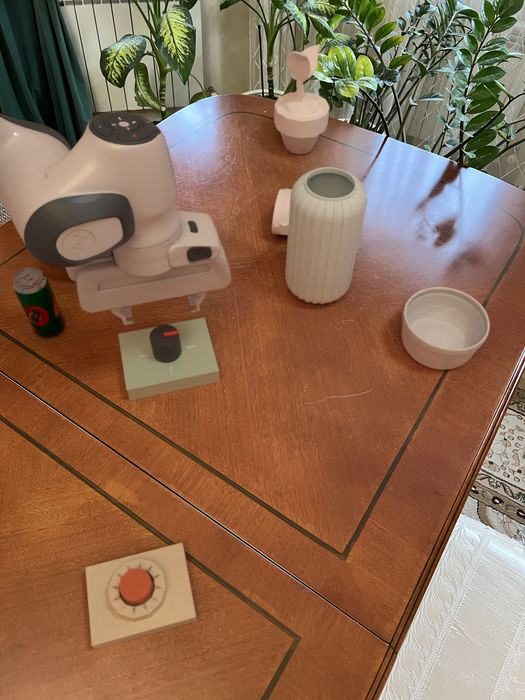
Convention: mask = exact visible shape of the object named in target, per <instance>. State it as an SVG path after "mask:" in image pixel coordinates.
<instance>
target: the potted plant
mask: <svg viewBox="0 0 525 700" xmlns="http://www.w3.org/2000/svg"><path fill="white" fill-rule="evenodd" d="M321 50H322V41H320V42H319V43H318V44H315V45H312V46H308V47H307V48H305V49H304V50H302V51H301V52H300V51H297V50H294V51H292V52H290V53H288V54H287V57H286V62H285V63H286V65H287V67H288V70H289V74H290V76H291V78H292V79H293V80H295V81H296V82H295V83H296V91H293V92H287V93H286V94H284V95H281V96H279V97H278V98H277V100H276V101H275V103H274V105H273V123H274V125H275V128H276V130H277V131H278V132H280V136H281V139H282V142H283V145H284V148H285V150H286V151H288V152H289V153H291V154H295V155H305V154H308V153H310V152H312V151H313V149H314V147H315V145H316V143H317V141H318V138H319V136H320V135H321V134H323V133H325V132H326V129H327V128H328V124H329V118H330V117H329V116H330V105H329V103H328V101H327V99H326V98H324V97H322V96H321V95H319V94H317V93H313V92H307V91H305V84H304V83H305V82H306V81H307V80H308V79H310V78H311V77H312V75H314V74H315V72H316V71H317V70H318V61H319V58H320V57H321V56H320V55H321ZM324 67H325V66H324V64H322V67H321V69H324Z"/></svg>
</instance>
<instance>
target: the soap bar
mask: <svg viewBox="0 0 525 700" xmlns="http://www.w3.org/2000/svg"><path fill="white" fill-rule="evenodd" d="M291 191H292V189H291V188H286V187H285V188H283V189H282V188H280V189H279V190H278V192H277V196H276V199H275V204H274V208H273V214H272V220H271V221H272V222H271V233H272V235H279V236H280V235H281V236H288V227H289V212H290V197H291Z"/></svg>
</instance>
